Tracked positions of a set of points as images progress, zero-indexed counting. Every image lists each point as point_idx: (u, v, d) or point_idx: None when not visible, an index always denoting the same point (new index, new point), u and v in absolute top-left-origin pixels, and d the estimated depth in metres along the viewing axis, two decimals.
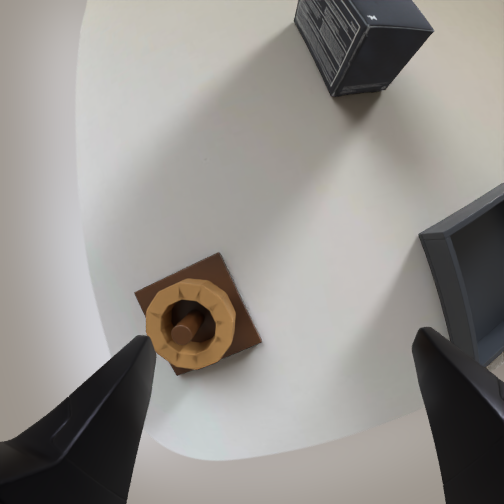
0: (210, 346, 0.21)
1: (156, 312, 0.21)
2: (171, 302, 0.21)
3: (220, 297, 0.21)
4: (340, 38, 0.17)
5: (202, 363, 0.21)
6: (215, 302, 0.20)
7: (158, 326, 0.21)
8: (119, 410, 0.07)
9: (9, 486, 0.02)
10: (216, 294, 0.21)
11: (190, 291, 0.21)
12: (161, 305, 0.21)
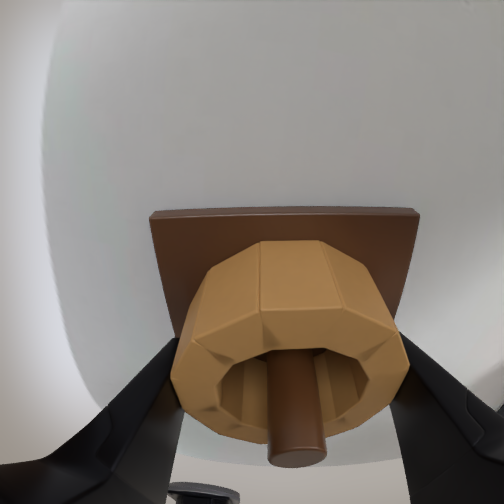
0: None
1: (225, 353, 0.06)
2: (288, 346, 0.06)
3: None
4: None
5: None
6: (394, 371, 0.07)
7: (214, 377, 0.07)
8: (161, 417, 0.06)
9: None
10: None
11: (360, 337, 0.06)
12: (251, 344, 0.06)
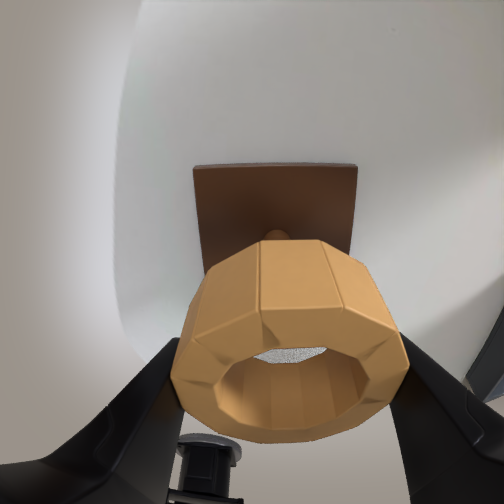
0: (316, 426, 0.08)
1: (225, 353, 0.06)
2: (287, 345, 0.06)
3: None
4: None
5: (279, 440, 0.09)
6: (394, 370, 0.07)
7: (214, 377, 0.07)
8: (161, 417, 0.06)
9: None
10: (404, 351, 0.07)
11: (360, 336, 0.06)
12: (251, 343, 0.06)
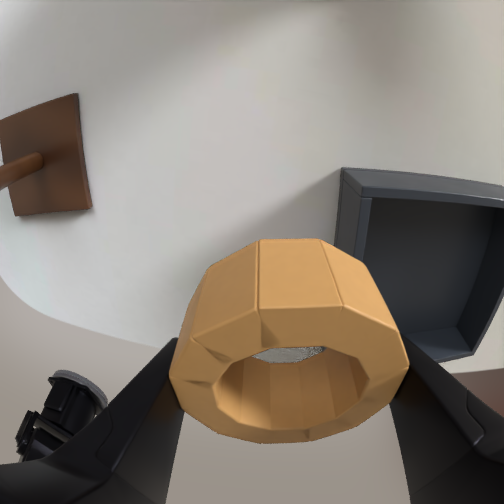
0: (315, 425, 0.08)
1: (223, 352, 0.06)
2: (286, 344, 0.06)
3: None
4: None
5: (278, 440, 0.09)
6: (394, 370, 0.07)
7: (212, 376, 0.07)
8: (161, 417, 0.06)
9: None
10: (404, 350, 0.07)
11: (359, 335, 0.06)
12: (249, 342, 0.06)
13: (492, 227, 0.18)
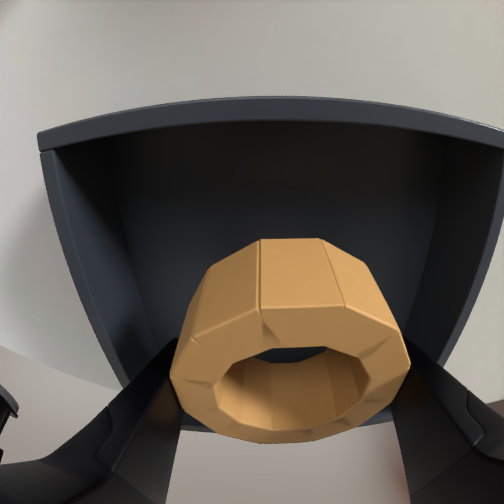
0: (316, 426, 0.08)
1: (224, 352, 0.06)
2: (288, 344, 0.06)
3: None
4: None
5: (279, 441, 0.09)
6: (395, 370, 0.07)
7: (213, 376, 0.07)
8: (161, 417, 0.06)
9: None
10: (405, 350, 0.07)
11: (361, 335, 0.06)
12: (251, 342, 0.06)
13: (440, 196, 0.10)
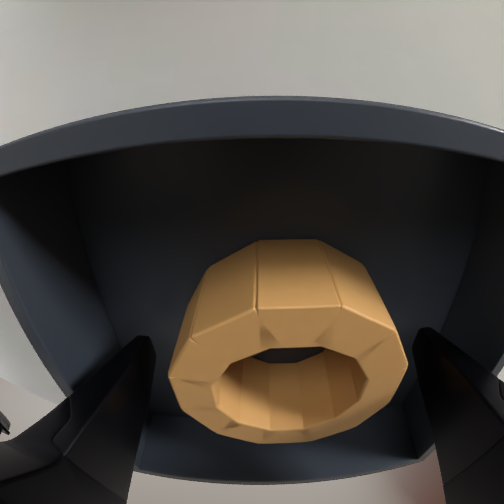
0: (314, 426, 0.08)
1: (222, 352, 0.06)
2: (285, 344, 0.06)
3: None
4: None
5: (277, 440, 0.09)
6: (393, 370, 0.07)
7: (211, 376, 0.07)
8: (119, 410, 0.07)
9: (9, 486, 0.02)
10: None
11: (358, 336, 0.06)
12: (248, 342, 0.06)
13: (477, 226, 0.08)
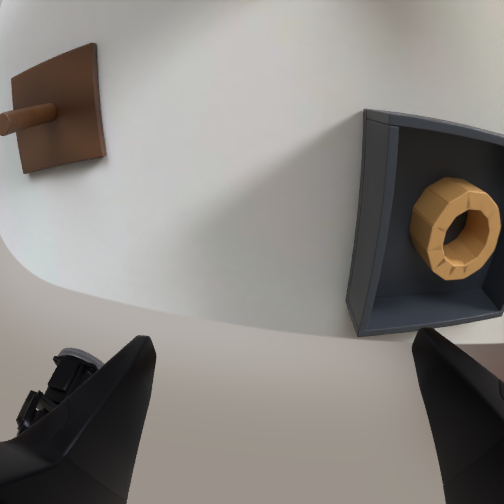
0: (469, 263, 0.16)
1: (455, 210, 0.15)
2: (472, 208, 0.15)
3: None
4: None
5: (453, 276, 0.17)
6: (497, 227, 0.15)
7: (447, 225, 0.15)
8: (119, 410, 0.07)
9: (9, 486, 0.02)
10: None
11: (489, 207, 0.14)
12: (463, 206, 0.15)
13: None
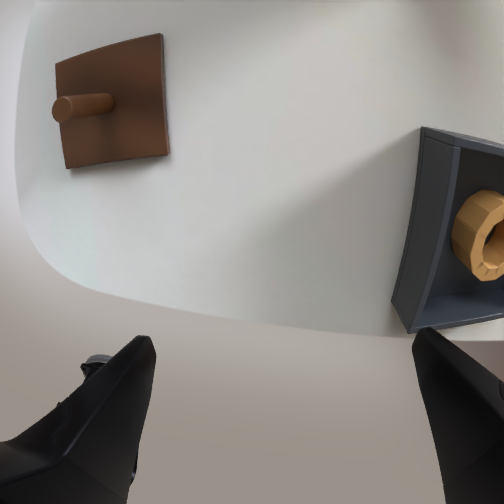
0: (500, 266, 0.17)
1: (494, 220, 0.15)
2: None
3: None
4: None
5: (488, 277, 0.18)
6: None
7: (487, 232, 0.16)
8: (119, 410, 0.07)
9: (9, 486, 0.02)
10: None
11: None
12: (500, 216, 0.15)
13: None
